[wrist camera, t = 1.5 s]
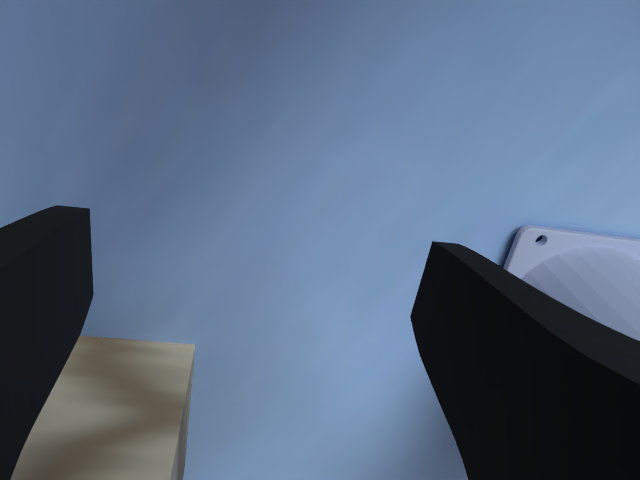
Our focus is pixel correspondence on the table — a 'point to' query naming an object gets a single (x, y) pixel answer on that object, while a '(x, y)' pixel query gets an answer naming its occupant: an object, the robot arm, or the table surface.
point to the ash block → (114, 414)
